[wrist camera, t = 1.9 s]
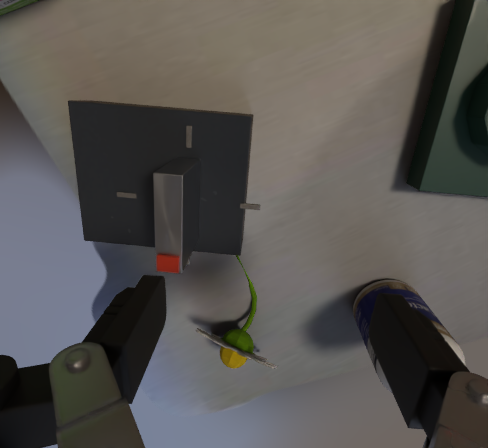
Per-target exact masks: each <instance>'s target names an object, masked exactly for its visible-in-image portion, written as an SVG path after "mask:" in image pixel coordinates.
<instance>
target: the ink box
mask: <svg viewBox="0 0 488 448" xmlns="http://www.w3.org/2000/svg"><path fill="white" fill-rule="evenodd" d="M36 1H39V0H0V15H3V14H5V13H8V12H11V11H13V10H16V9H19V8H21V7H23V6H26V5H29V4H31V3H34V2H36Z"/></svg>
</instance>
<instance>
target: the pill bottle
mask: <svg viewBox="0 0 488 448" xmlns="http://www.w3.org/2000/svg"><path fill="white" fill-rule="evenodd" d="M379 293H389V294H401V295H403V296H404V298H405V299H406V301H407V302H408V303H409V305H410V306H411V308H412V309H417V310H418V311H420V312H421V313H422V314H424V315H425V316H426V317H428V318H429V319H430V320H431V321H432V323H433V324H434V325H435V327H436V328H437V329H438V332H440V333H441V335H442V336H443V337H444V339H445V341H447V342H448V344H449V345H450V346H451V348H452V349H453V350H454V352H455V353H456V354H457V356H458V357H459V358H460V360H461V361H462V362H463V363H464V365H465V358H464V354H463V352H462V350H461V348H460V347H459V345H458V344H457V343H456V341H455V340H454V339H453V337H452V336H451V335H450V334H449V332H448V331H447V330H446V329H445V327H444V326H443V325H442V324H441V322H440V321H439V320H438V318H437V317H436V316H435V315H434V313H433V312H432V311H431V310H430V308H429V307H428V306H427V305H426V303H425V302H424V301H423V300H422V298H421V297H420V296H419V294H418V293H417V292H416V291H415V290H414V289H413V288H412V287H411V286H409V285H408V284H406V283H404V282H401V281H397V280H382V281H378V282H375V283H372V284H370V285H369V286H367V287H365V288H364V289H363V290H362V291H361V292H360V293H359V294H358V296H357V298H356V300H355V302H354V306H353V313H354V318H355V321H356V323H357V326H358V328H359V331H360V333H361V336H362V338H363V340H364V343H365V346H366V348H367V350H368V353H369V355H370V358H371V360H372V363H373V365H374V367H375V370H376V373H377V375H378V377H379V379H380V381H381V382H382V384H383V385H384V386H385V387H386V388H387V389H388V390H389V391H390V392H392V391H391V388H390V386H389V384H388V382H387V379H386V377H385V375H384V373H383V370H382V368H381V366H380V364H379V361H378V359H377V357H376V355H375V353H374V350H373V348H372V346H371V343H370V340H369V325H370V321H371V317H372V313H373V309H374V305H375V301H376V298H377V295H378V294H379ZM465 366H466V365H465Z"/></svg>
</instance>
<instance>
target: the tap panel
mask: <svg viewBox="0 0 488 448" xmlns="http://www.w3.org/2000/svg"><path fill="white" fill-rule="evenodd" d="M68 106H69V114H70V123H71V131H72V140H73V148H74V157H75V165H76V174H77V183H78V191H79V200H80V208H81V217H82V225H83V234H84V240H85V241H96V242H106V243H116V244H126V245H137V246H147V247H155V220H154V183H153V173H154V172H155V171H157V170H158V169H160V168H161V167H163V166H165V165H166V164H168V163H169V162H171V161H172V160H174V159H175V158H177V157H181V158H192V159H200V160H201V161H200V197H199V232H198V241H197V244H196V246H195V248H194V250H193V251H198V252H208V253H218V254H229V255H239V256H240V254H241V248H242V241H243V231H244V220H245V209H254V210H260V205H258V204H247V203H246V196H247V184H248V172H249V161H250V149H251V137H252V125H253V114H242V113H230V112H218V111H207V110H195V109H183V108H172V107H160V106H148V105H137V104H125V103H113V102H102V101H68ZM189 264H190V258H189V260H188V262H187V265H189Z"/></svg>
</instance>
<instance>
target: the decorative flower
mask: <svg viewBox="0 0 488 448" xmlns="http://www.w3.org/2000/svg"><path fill="white" fill-rule="evenodd" d="M236 257H237V259H238V260H239V262H240V264H241V261H240V259H239V257H238V255H236ZM241 265H242V264H241ZM242 267H243V266H242ZM243 269H244V268H243ZM244 271H245V270H244ZM245 274H246V276H247V279H248V281H249V287H250V292H251V296H252V307H251V312H250V315H249V317H248V319H247V322H246V323H245V325H244V326H243V327H242V329H241V330H240V329H234V330H230V331H228V332H227V333H225V334H224V336H223V338H221V337H219V336H217V335H215V334H213V333H212V335H213V336H214V337H213V336H211V335H210V334H208V333H207V332H205V331H202V330H201V329H199V328H197V330H196V331H197V332H198V333H200V334H201V335H203V336H205V337H207V338H209V339H211V341H213V342H215V343H217V344H219V345H220V346H221V349H220V357H221V360H222V362H223V363H224V364H225V365H226V366H227V367H230V368H239V367H241V366H242V365H243V364H244V363H245V362H246V360H247V358H248V359H250V360H252V359H253V360H255V361H257V362H258V363H261V364H263V365H265V366H268V367H271V368H274V369H275V367H277V368H278V366H276V365H274V364H272V363H269V362H266V361H267V359H266V358H263V357H260V356H257V355H255V354H254V353H253V348H254V346H253V340H252V339H251V337H250V335H249V334H248V333H247V332H246V331H247V329H248V328H249V326H250V325H251V322H252V320H253V317H254V314H255V312H256V302H257V296H256V292H255V290H254V287H253V284H252V282H251V281H250V279H249V277H248V275H247V273H246V272H245ZM198 330H199V331H200V332H199V331H198ZM201 332H202V333H201ZM218 342H219V343H218ZM263 360H265V361H263ZM267 364H268V365H267ZM270 365H271V366H270ZM272 366H273V367H272Z"/></svg>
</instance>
